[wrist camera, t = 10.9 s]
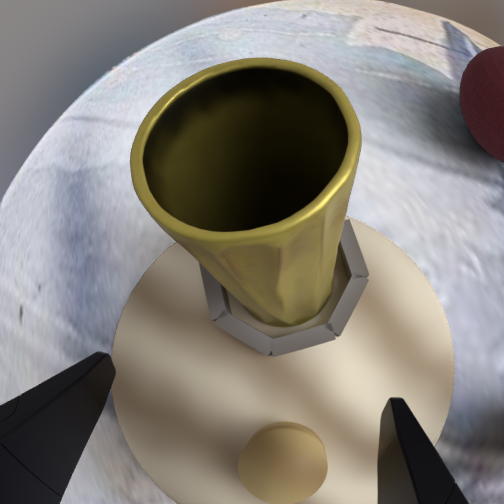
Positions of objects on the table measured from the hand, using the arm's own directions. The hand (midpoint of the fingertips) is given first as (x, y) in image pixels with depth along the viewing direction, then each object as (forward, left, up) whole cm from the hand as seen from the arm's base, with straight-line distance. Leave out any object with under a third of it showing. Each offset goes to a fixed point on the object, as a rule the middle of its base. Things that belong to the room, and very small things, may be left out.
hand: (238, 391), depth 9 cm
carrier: (0, -1, -11) cm, 11 cm away
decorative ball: (+26, -9, -11) cm, 29 cm away
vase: (+5, +2, -10) cm, 12 cm away
